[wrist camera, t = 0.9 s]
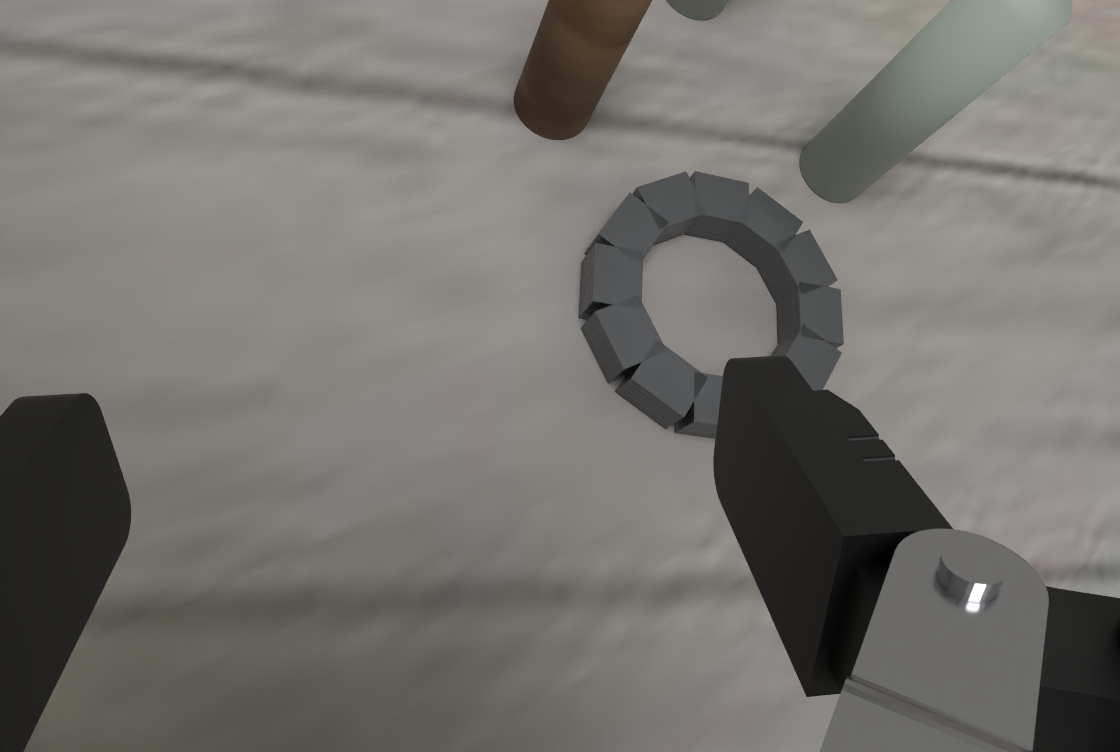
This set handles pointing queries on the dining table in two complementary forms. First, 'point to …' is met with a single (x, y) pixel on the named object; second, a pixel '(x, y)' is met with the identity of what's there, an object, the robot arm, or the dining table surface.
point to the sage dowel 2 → (926, 89)
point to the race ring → (749, 230)
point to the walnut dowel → (573, 62)
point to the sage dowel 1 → (698, 8)
